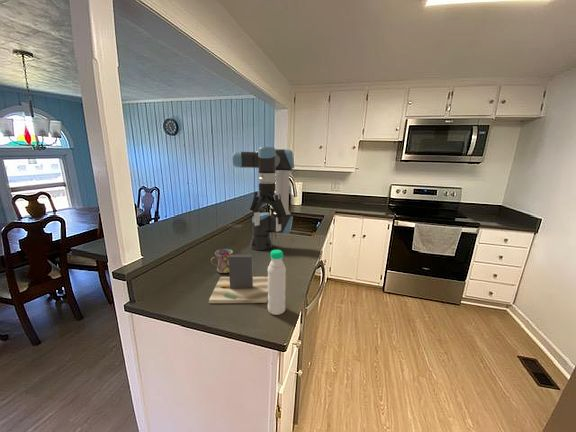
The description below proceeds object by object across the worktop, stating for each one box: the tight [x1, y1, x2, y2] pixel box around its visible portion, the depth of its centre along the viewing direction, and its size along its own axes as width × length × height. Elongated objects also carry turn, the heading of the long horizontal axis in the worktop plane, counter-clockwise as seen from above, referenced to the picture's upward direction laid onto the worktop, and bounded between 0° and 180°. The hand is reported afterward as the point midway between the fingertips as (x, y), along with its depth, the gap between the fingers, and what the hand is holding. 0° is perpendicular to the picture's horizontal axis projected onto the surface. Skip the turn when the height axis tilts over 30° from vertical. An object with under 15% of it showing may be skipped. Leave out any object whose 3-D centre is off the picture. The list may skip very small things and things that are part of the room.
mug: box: [210, 248, 234, 274], centre depth 126 cm, size 12×9×11 cm
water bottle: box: [267, 249, 287, 316], centre depth 92 cm, size 7×7×25 cm
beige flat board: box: [208, 276, 268, 304], centre depth 109 cm, size 20×24×2 cm
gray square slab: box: [221, 254, 254, 288], centre depth 107 cm, size 3×14×15 cm, turn 92°
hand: (267, 228), depth 112 cm, fingers open, 13 cm apart
